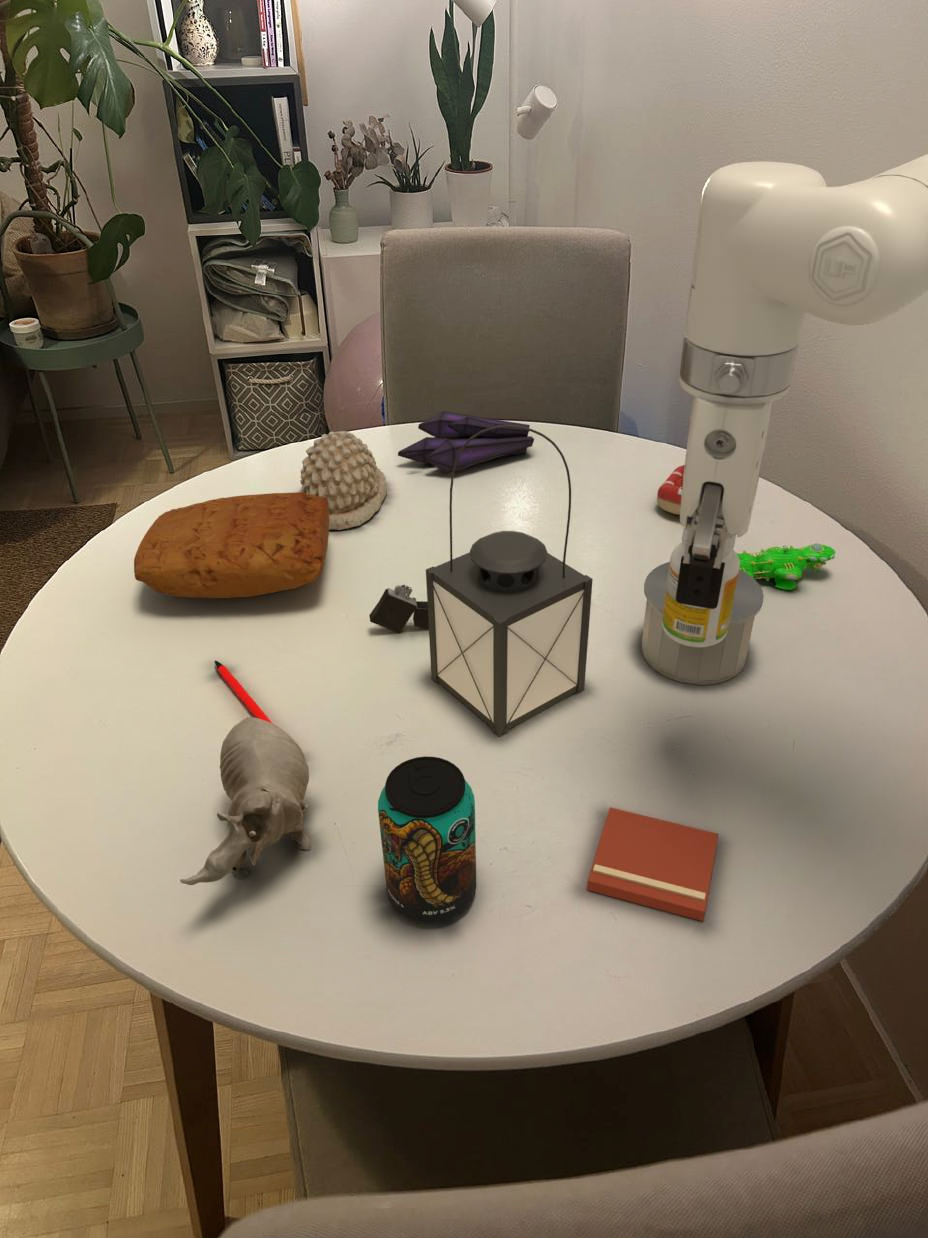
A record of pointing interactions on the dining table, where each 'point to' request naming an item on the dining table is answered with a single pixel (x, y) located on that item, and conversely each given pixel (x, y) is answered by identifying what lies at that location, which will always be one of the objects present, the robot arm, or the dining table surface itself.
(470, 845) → the beverage can
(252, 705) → the pen
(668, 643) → the pot
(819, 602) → the dining table surface
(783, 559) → the green elongated plastic piece
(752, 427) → the robot arm
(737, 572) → the supplement bottle
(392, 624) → the lighter
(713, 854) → the book
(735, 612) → the pot lid
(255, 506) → the cuneiform tablet
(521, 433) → the crystal
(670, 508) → the toy boat
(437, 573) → the lantern
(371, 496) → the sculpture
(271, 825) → the grey rounded figure
